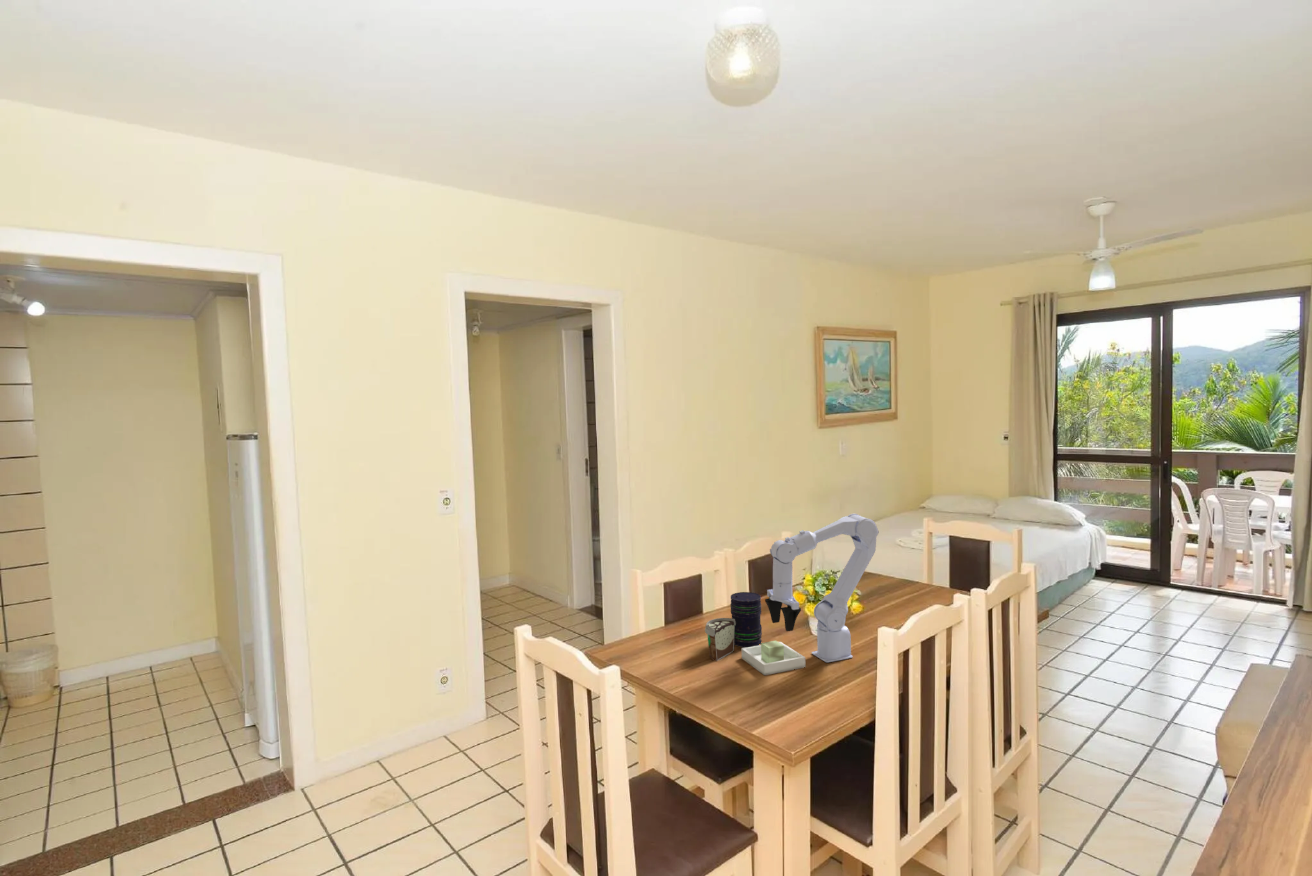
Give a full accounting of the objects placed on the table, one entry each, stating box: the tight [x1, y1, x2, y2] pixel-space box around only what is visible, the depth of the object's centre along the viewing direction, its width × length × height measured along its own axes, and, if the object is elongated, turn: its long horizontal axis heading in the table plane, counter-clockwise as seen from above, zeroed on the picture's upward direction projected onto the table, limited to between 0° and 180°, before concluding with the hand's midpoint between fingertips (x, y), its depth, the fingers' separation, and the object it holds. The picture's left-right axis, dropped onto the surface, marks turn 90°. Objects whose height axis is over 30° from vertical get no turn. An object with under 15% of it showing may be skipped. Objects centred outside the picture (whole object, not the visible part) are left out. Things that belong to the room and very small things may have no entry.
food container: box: [704, 617, 736, 662], centre depth 200 cm, size 12×6×10 cm, turn 141°
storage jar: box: [730, 591, 763, 648], centre depth 209 cm, size 10×10×15 cm
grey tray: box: [741, 641, 806, 676], centre depth 193 cm, size 14×14×3 cm
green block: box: [760, 640, 784, 663], centre depth 192 cm, size 5×4×5 cm
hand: (782, 626), depth 193 cm, fingers open, 7 cm apart
